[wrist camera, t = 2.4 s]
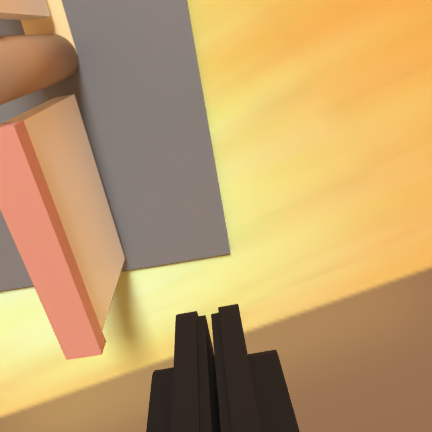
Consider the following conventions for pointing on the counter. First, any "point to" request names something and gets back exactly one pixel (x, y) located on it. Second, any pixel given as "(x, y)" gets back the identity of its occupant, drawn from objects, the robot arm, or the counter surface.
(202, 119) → the card
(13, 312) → the counter surface
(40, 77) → the fence fixed
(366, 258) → the counter surface
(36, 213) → the fence gate
